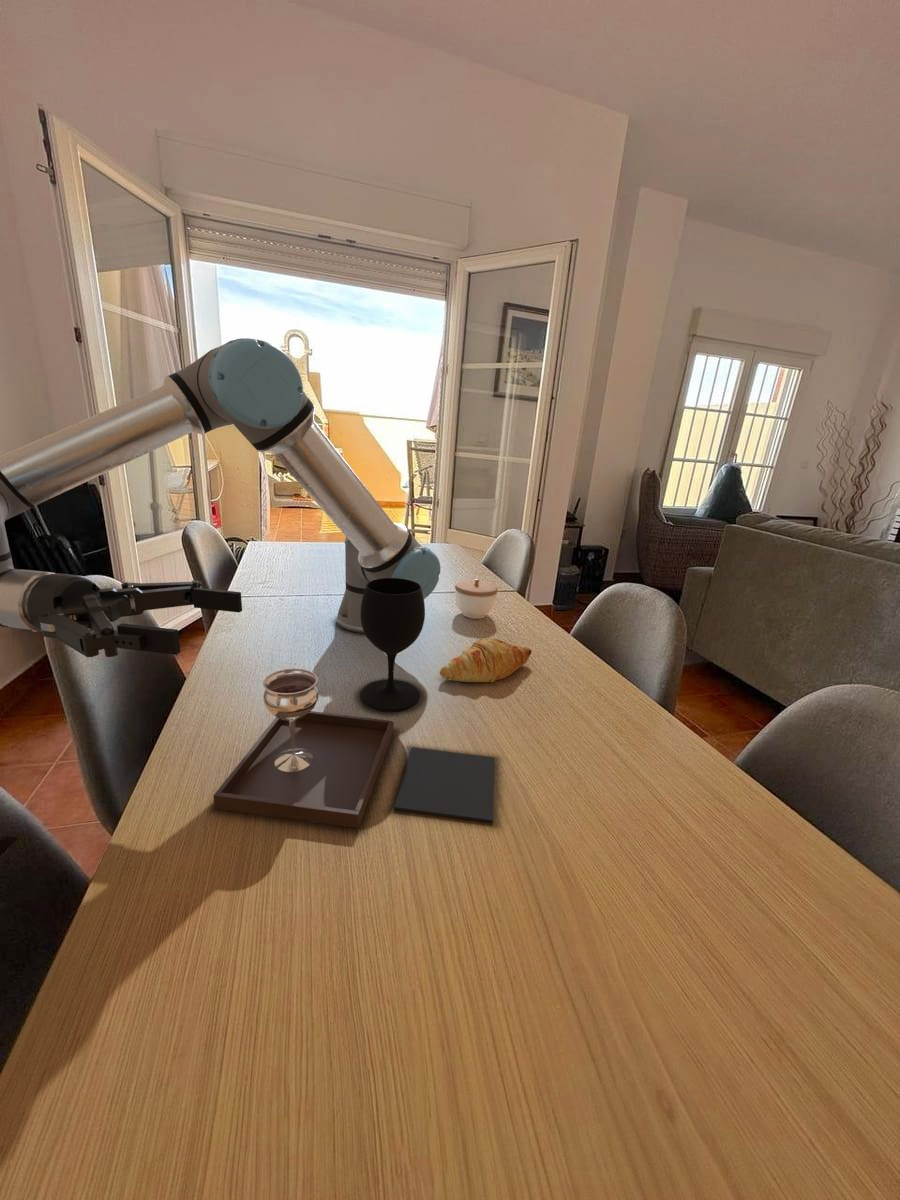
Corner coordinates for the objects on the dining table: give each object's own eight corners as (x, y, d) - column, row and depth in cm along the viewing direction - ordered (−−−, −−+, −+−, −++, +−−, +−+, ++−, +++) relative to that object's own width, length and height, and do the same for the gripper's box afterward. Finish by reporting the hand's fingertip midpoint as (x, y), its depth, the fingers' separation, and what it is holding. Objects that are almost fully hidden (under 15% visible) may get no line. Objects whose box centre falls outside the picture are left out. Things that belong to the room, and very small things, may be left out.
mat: (411, 749, 70) (411, 747, 70) (493, 759, 69) (494, 757, 69) (393, 809, 58) (394, 807, 58) (492, 822, 58) (492, 820, 57)
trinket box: (496, 623, 119) (500, 587, 116) (452, 620, 119) (455, 584, 116) (492, 608, 129) (496, 575, 126) (453, 605, 129) (455, 572, 126)
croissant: (447, 706, 88) (461, 681, 82) (424, 662, 93) (435, 636, 88) (534, 679, 99) (551, 656, 93) (509, 642, 104) (524, 618, 99)
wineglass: (255, 764, 63) (249, 684, 60) (293, 738, 69) (290, 663, 65) (294, 783, 61) (291, 700, 57) (330, 754, 66) (329, 677, 63)
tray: (284, 718, 75) (283, 707, 74) (393, 732, 73) (393, 720, 73) (214, 809, 56) (213, 795, 56) (358, 828, 55) (358, 814, 55)
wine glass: (412, 716, 78) (418, 599, 71) (350, 707, 79) (351, 591, 72) (425, 685, 87) (432, 580, 81) (370, 677, 89) (372, 573, 82)
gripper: (127, 599, 74) (261, 613, 72) (-47, 674, 50) (145, 698, 49) (120, 551, 71) (258, 565, 70) (-67, 607, 48) (135, 630, 46)
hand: (212, 620), depth 59 cm, fingers open, 13 cm apart
